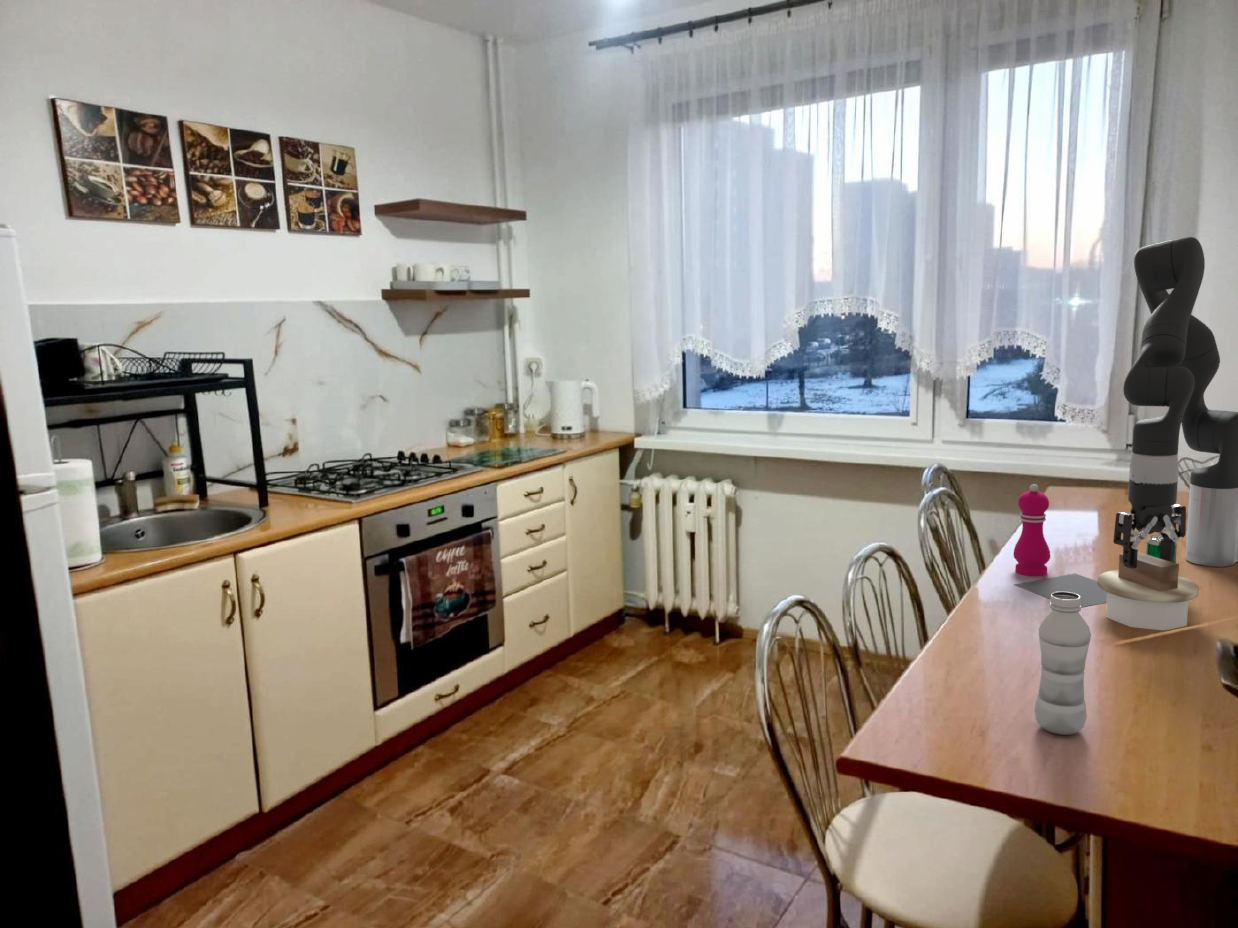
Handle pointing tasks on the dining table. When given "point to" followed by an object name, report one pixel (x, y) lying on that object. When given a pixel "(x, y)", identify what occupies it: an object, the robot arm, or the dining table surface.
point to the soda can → (1156, 547)
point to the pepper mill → (1032, 534)
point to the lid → (1149, 581)
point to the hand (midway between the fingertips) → (1148, 563)
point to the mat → (1068, 588)
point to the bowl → (1146, 613)
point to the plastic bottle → (1062, 666)
